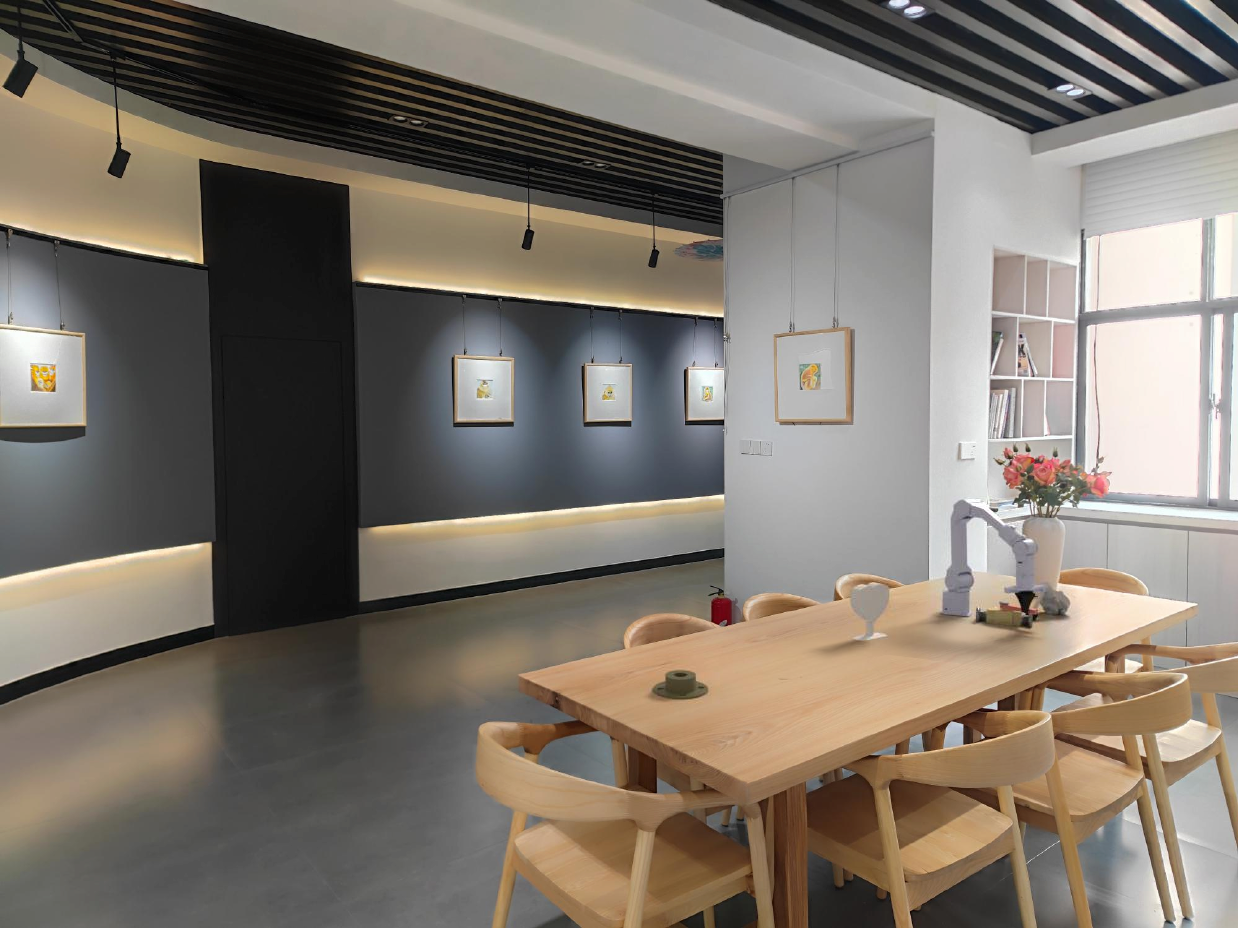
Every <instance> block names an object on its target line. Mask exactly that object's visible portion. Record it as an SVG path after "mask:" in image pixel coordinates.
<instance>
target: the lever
mask: <svg viewBox="0 0 1238 928" xmlns="http://www.w3.org/2000/svg"><path fill="white" fill-rule="evenodd" d="M999 607H1000V608H1001V609H1007V610H1012V611H1018V612H1022V610H1021V606H1020V605H1014V604H1010V602H1008V601H999ZM1022 613H1023V612H1022ZM1028 613H1029V614H1038V615H1039V609H1038V608H1037V609H1033V607H1029V611H1028Z"/></svg>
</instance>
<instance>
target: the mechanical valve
mask: <svg viewBox="0 0 1238 928" xmlns="http://www.w3.org/2000/svg"><path fill="white" fill-rule="evenodd" d="M1040 585H1043V586H1046V592H1043V591H1039V592H1040V593H1039V595H1038V597H1037V598H1036V601H1035V603H1034V604H1033V606H1032V608H1033V609H1038V608H1039V606H1041V607H1042V610H1043V611H1044V612H1045V613H1047V615H1048V614H1049V615H1053V616H1056V615H1058V614H1061V615H1066V613H1067V612H1068V611H1069V608H1070V605H1071V601H1070V599H1069V597H1068V596H1066V594H1064V592H1063V591H1062V590H1055V589H1054V588H1053V586H1052V585H1051V583H1050V582H1049V581H1043V582H1041V583H1040ZM1024 615H1029V613H1024ZM1038 618H1039V613H1038V614H1033V621H1035V620H1037V619H1038Z"/></svg>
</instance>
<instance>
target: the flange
mask: <svg viewBox="0 0 1238 928" xmlns="http://www.w3.org/2000/svg"><path fill="white" fill-rule="evenodd" d="M664 677H665V678H664V679H665V680H664V681H661V682H658V683H656V684H655V685H654V686H653V693H654V694H656V695H658V696H660V697H662V698H667V699H673V700H691V699H697V698H700V697H703V696H706V695H707V694H708V692H709V688H708V686H707V684H705V683H703V682H700V681H697V674H696V672H693V671H690V670H686V669H685V670H684V669H675V670H674V669H673V670H670V671H667V672H666V673H665V674H664Z"/></svg>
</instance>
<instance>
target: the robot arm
mask: <svg viewBox="0 0 1238 928" xmlns="http://www.w3.org/2000/svg"><path fill="white" fill-rule="evenodd" d="M973 518H978V519H982V520H983V521H984V522H986V523H987V524H988V525H990V526H991V528H994V530H996V531H997V532H998V534H997V535H998V537H999V538H1001V540H1002V541H1004V542H1005V543H1006V544H1007V545H1008V546H1009V547H1010V548H1011V551H1012V553H1013V555H1014V556H1015V557H1014V559H1015V585H1011V586H1010V585H1009V586H1004V590H1003V591H1004V593H1005V594H1012V593H1013V594H1014V595H1015V596H1016V599H1017V600H1018V603H1019V606H1021V610H1022V614H1025V613H1028V611H1029V608H1031V604H1032V602H1033V600H1034V598H1035V597H1036V593H1035V592H1041V591H1043V592H1046V586H1043V585H1041V584H1040V585H1039V584H1035V555H1036V554H1037V553H1038V549H1039V546H1038V544H1037V542H1036V540H1035V539H1033V538H1027V536H1026V535H1024V534H1022V532H1020V531H1019V530H1018V529H1017V527H1016V526H1015V524H1014V525H1012V524H1005V522H1004V521H1003V520H1001V519H1000V518H999V517H998V515H996V513H994V512H993V510H991V509H990V508H989V505H988V503H986V502H985V501H984V500H982V499H981V498H971V499H970V498H969V499H959V500H958V501H956V502H955V503H954V504H953V511H952V513H951V515H950V546H951V548H950V555H951V556H950V558H951V560H950V561H951V562H950V563H951V565H950V566H949V567H948V568H947V569H946V575H945V577H944V585H945V587H946V589H945V588H944V589H943V590H942V602H941V603H942V605H941V608H942V609H941V611H942V612H941V614H942V615H950V616H951V615H952V616H958V617H959V616H961V617H970V616H971V614H972V612H973V611H972V610H970V605H971V603H970V596H971V595H970V594H971V593H970V590H971V588H972V587H973V586H974V583H975V579H974V576H973V572H972V568H971V567H970V566H969V565H968V539H967V537H968V536H967V535H968V534H967V527H968V526H967V525H968V523H969V522H970V521H971V520H972V519H973Z"/></svg>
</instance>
